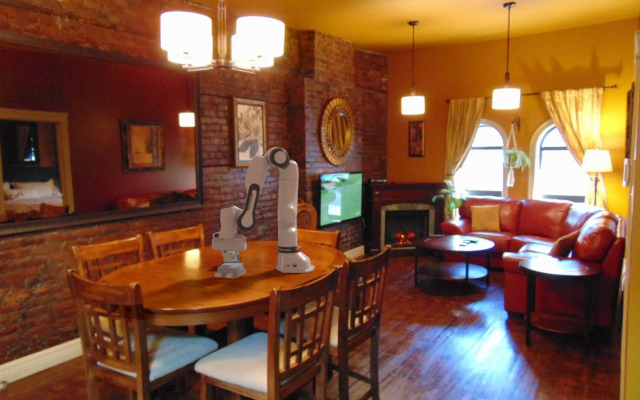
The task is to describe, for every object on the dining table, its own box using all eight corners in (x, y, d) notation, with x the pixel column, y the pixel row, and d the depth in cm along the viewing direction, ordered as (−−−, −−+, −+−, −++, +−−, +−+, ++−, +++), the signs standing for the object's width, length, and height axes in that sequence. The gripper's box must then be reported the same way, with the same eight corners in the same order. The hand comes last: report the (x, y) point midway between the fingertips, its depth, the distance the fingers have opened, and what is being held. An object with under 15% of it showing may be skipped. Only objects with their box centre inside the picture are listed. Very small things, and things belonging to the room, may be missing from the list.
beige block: (235, 260, 260) (235, 251, 259) (231, 262, 255) (231, 253, 254) (227, 259, 261) (227, 251, 260) (223, 261, 256) (223, 253, 256)
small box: (233, 267, 274) (232, 250, 273) (222, 267, 275) (222, 250, 274) (239, 263, 284) (239, 247, 283) (229, 263, 285) (229, 246, 284)
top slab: (243, 268, 263) (243, 263, 262) (236, 273, 252) (236, 268, 252) (225, 267, 265) (224, 262, 264) (217, 273, 254) (217, 267, 254)
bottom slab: (245, 273, 263) (245, 268, 263) (235, 279, 251) (235, 274, 251) (225, 272, 267) (225, 267, 267) (214, 278, 255) (214, 272, 254)
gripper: (248, 233, 256) (248, 257, 258) (215, 232, 262) (216, 256, 264) (243, 235, 250) (244, 260, 252) (209, 234, 256) (210, 258, 258)
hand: (229, 258), depth 258 cm, fingers closed on beige block, 5 cm apart
